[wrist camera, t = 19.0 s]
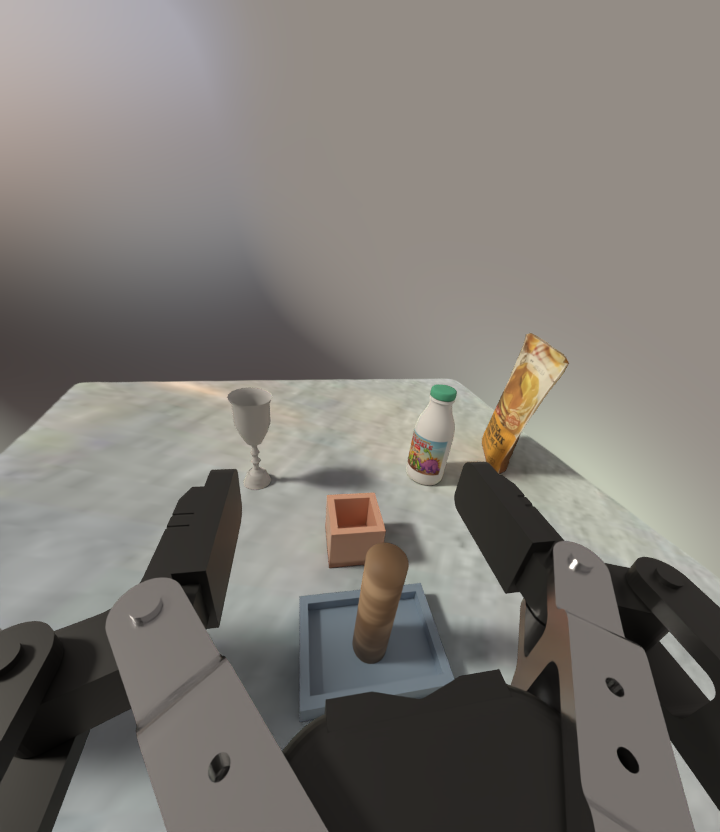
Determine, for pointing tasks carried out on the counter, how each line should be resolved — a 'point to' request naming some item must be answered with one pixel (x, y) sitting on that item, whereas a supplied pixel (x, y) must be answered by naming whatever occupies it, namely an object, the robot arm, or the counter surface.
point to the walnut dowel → (378, 600)
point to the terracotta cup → (352, 528)
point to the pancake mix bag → (521, 398)
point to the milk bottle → (432, 437)
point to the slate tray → (345, 673)
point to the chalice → (252, 428)
